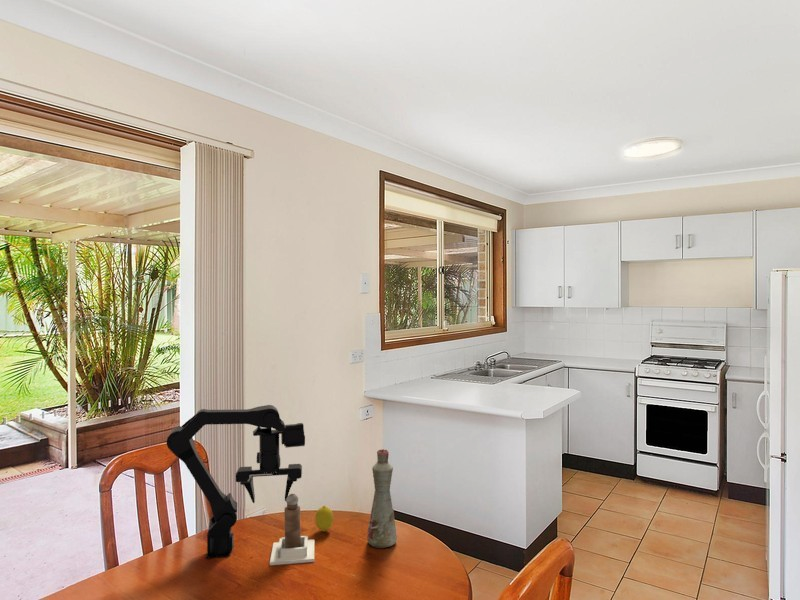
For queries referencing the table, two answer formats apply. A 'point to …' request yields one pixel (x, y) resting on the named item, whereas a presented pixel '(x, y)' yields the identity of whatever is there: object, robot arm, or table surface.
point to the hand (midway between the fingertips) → (269, 501)
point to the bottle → (382, 505)
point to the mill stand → (292, 552)
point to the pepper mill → (292, 522)
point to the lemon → (324, 518)
